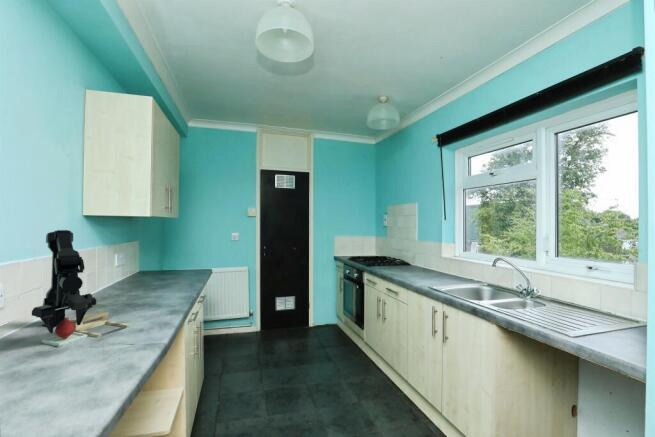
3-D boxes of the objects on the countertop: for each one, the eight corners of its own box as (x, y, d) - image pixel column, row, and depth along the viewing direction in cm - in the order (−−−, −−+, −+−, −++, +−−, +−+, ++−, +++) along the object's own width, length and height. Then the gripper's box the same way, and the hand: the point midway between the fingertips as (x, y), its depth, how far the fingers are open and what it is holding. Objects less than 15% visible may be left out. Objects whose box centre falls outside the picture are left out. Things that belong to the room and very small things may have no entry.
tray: (41, 342, 112) (41, 339, 112) (70, 334, 121) (70, 331, 121) (59, 346, 109) (59, 343, 109) (87, 337, 118) (87, 334, 118)
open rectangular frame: (70, 332, 124) (71, 319, 124) (103, 322, 136) (103, 311, 136) (97, 337, 119) (98, 324, 119) (129, 326, 132) (129, 315, 132)
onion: (62, 343, 112) (63, 321, 112) (50, 340, 113) (51, 319, 113) (78, 336, 118) (79, 316, 117) (67, 334, 119) (67, 314, 119)
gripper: (53, 295, 104) (51, 341, 104) (107, 285, 122) (105, 324, 122) (31, 291, 108) (29, 336, 107) (87, 282, 125) (85, 320, 125)
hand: (65, 328), depth 115 cm, fingers open, 9 cm apart
